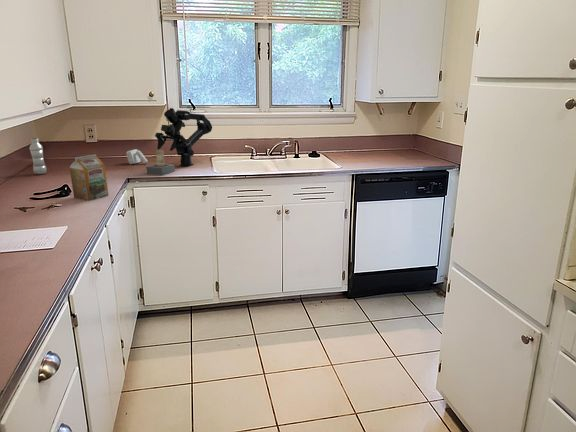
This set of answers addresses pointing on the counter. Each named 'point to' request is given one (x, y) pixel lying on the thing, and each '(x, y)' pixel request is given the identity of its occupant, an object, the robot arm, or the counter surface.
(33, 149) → the plastic bottle
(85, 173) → the milk carton
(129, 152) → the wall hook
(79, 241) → the counter surface
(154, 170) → the frame
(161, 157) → the birch peg
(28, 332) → the counter surface
